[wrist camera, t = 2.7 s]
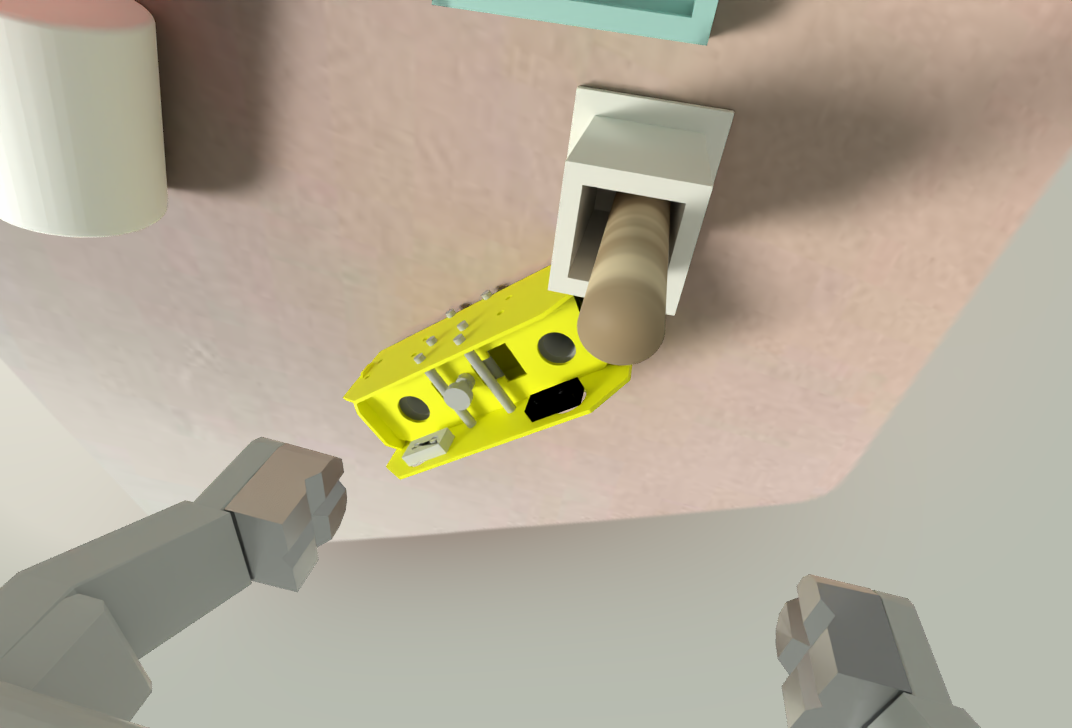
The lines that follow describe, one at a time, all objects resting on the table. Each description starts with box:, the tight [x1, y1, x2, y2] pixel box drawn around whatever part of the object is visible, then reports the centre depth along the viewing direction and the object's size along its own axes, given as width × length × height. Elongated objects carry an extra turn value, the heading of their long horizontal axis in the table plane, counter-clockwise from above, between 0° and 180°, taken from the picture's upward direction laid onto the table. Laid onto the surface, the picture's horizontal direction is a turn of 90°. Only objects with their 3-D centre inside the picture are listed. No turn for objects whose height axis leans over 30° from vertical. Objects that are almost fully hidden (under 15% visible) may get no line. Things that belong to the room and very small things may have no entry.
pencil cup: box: [548, 86, 734, 316], centre depth 24 cm, size 7×7×9 cm
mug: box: [0, 0, 168, 237], centre depth 27 cm, size 12×10×8 cm
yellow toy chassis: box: [343, 265, 632, 480], centre depth 31 cm, size 16×6×8 cm, turn 122°
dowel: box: [577, 191, 671, 365], centre depth 21 cm, size 2×4×14 cm, turn 84°
